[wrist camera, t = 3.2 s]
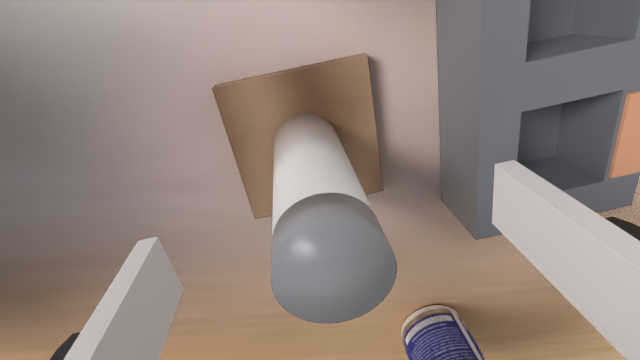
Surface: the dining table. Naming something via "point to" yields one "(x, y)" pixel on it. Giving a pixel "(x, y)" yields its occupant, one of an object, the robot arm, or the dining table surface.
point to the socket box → (538, 100)
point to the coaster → (293, 99)
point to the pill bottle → (438, 336)
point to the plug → (324, 228)
